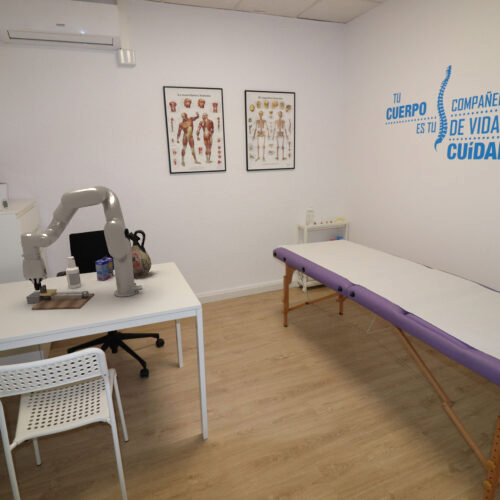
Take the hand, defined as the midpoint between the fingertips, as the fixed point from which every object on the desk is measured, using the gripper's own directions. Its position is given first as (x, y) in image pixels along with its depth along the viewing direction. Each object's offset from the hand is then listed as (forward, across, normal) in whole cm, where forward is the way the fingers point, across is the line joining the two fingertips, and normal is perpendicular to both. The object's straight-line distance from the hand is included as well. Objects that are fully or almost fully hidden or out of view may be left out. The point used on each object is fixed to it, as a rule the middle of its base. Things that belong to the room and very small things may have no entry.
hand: (38, 289), depth 189 cm
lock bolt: (+2, +5, 0) cm, 5 cm away
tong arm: (+5, +15, 0) cm, 15 cm away
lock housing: (+6, -1, 0) cm, 6 cm away
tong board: (+6, +14, -3) cm, 16 cm away
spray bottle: (+6, +9, +20) cm, 23 cm away
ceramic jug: (+6, +43, +37) cm, 57 cm away
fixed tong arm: (+5, +13, +1) cm, 14 cm away
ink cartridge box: (+6, +22, +34) cm, 41 cm away
